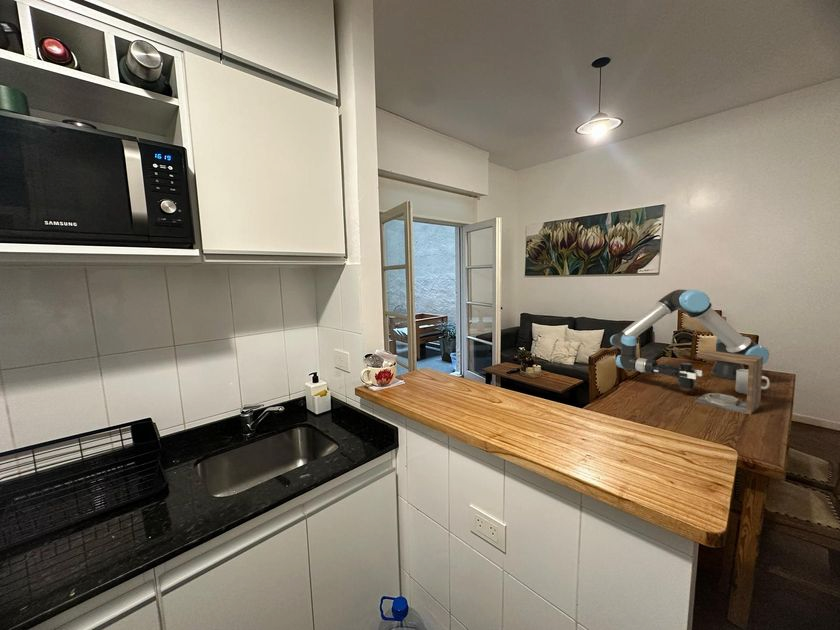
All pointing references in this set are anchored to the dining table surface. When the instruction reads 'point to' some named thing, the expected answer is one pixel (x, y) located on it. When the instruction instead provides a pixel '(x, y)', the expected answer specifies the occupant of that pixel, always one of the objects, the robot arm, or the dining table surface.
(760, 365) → the awning stand
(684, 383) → the supplement bottle
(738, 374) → the mug
